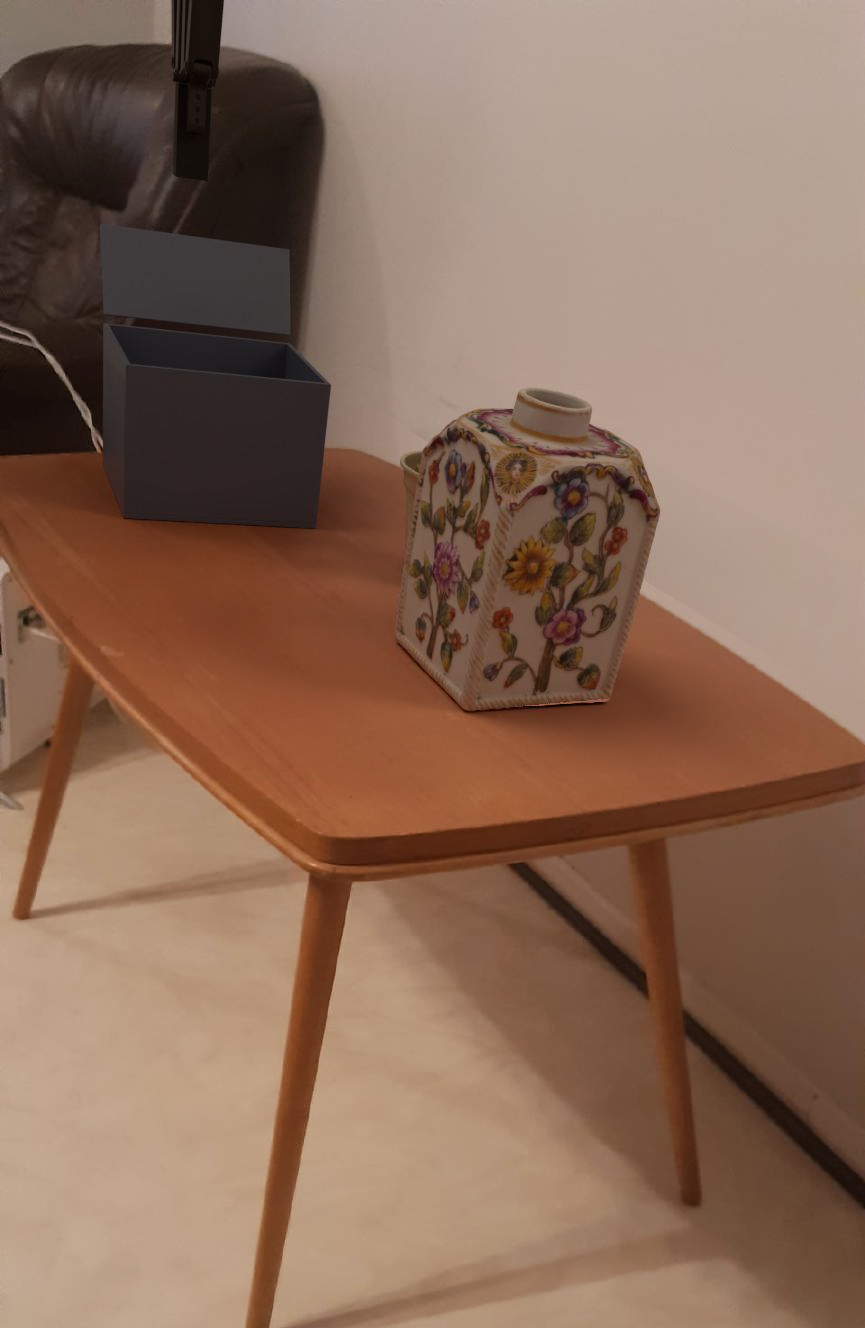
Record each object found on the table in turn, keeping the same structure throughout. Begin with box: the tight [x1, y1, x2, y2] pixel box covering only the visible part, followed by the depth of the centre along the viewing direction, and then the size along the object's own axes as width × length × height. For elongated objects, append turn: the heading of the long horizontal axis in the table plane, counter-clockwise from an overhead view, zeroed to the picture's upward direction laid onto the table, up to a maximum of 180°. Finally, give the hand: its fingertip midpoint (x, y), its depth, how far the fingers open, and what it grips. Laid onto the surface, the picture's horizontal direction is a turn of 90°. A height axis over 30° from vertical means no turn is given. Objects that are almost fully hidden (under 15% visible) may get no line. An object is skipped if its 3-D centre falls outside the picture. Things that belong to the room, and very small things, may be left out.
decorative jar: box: [394, 387, 661, 712], centre depth 79 cm, size 12×12×18 cm
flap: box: [99, 223, 292, 336], centre depth 102 cm, size 16×7×1 cm
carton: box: [102, 322, 332, 530], centre depth 101 cm, size 16×14×11 cm
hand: (190, 177), depth 103 cm, fingers closed
